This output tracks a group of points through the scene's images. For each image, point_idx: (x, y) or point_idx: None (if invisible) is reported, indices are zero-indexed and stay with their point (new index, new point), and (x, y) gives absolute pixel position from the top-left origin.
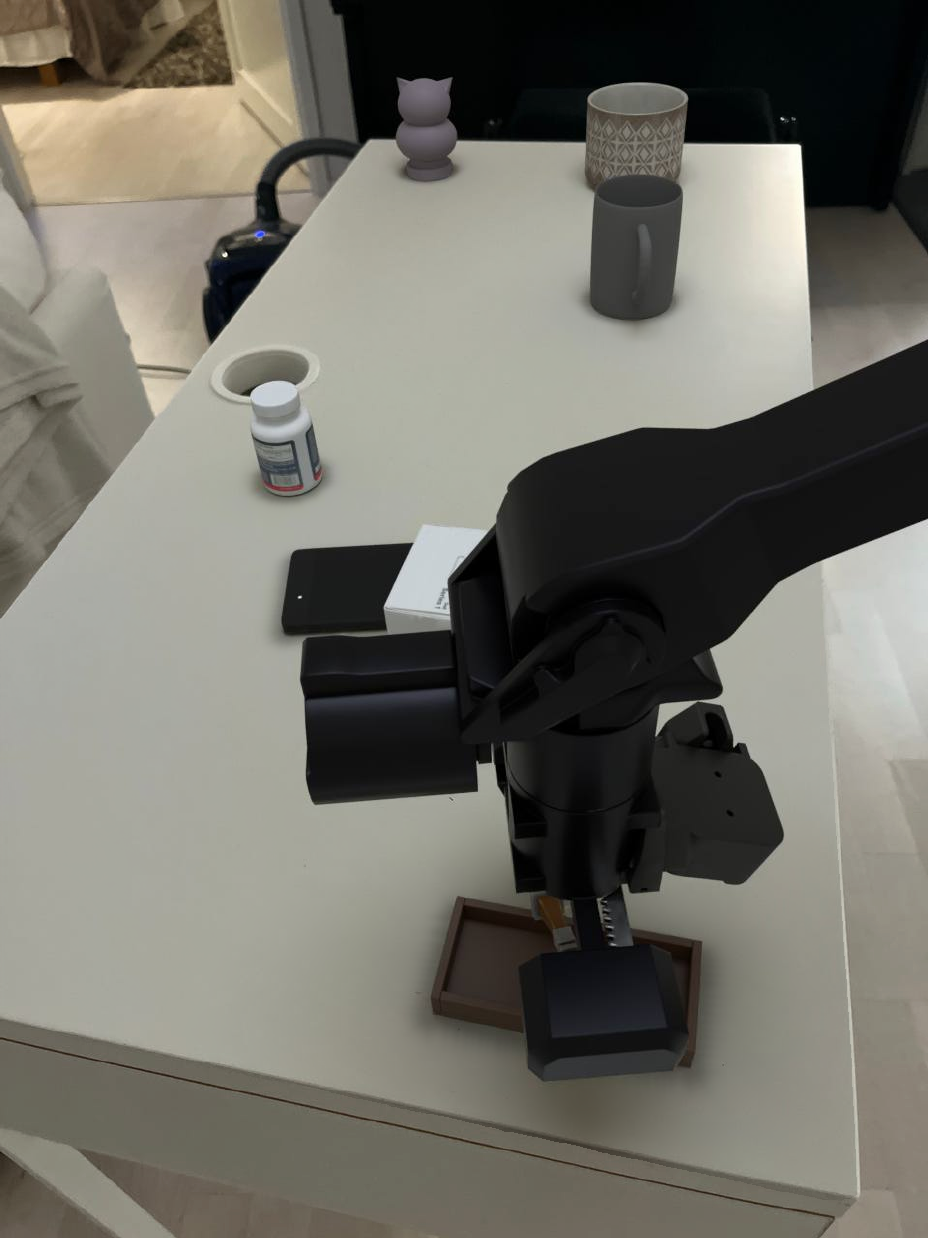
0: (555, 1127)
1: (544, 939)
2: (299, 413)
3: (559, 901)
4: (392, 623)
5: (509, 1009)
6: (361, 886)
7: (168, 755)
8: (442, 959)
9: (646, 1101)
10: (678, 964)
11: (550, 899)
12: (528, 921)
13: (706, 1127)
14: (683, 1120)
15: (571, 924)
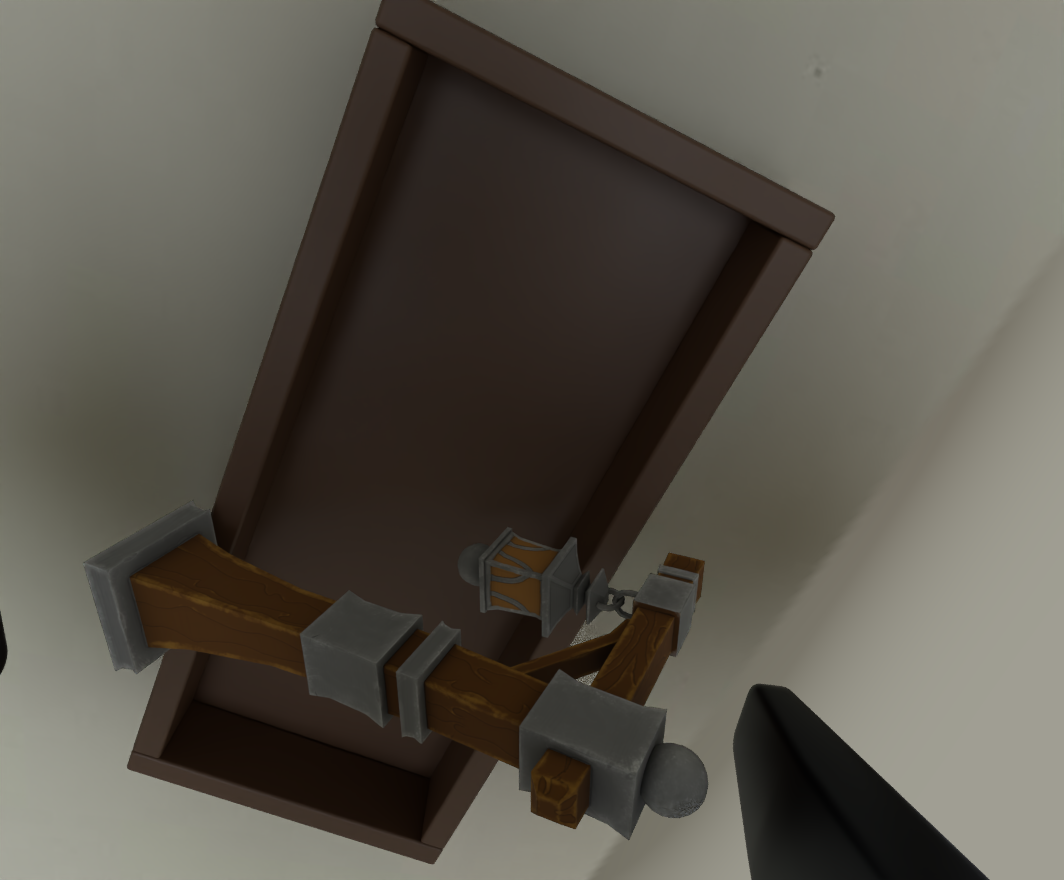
0: (793, 600)
1: (279, 521)
2: None
3: (169, 589)
4: None
5: None
6: (88, 859)
7: None
8: (330, 831)
9: (825, 366)
10: (438, 105)
11: (158, 611)
12: None
13: (971, 214)
14: (920, 278)
15: (251, 492)
